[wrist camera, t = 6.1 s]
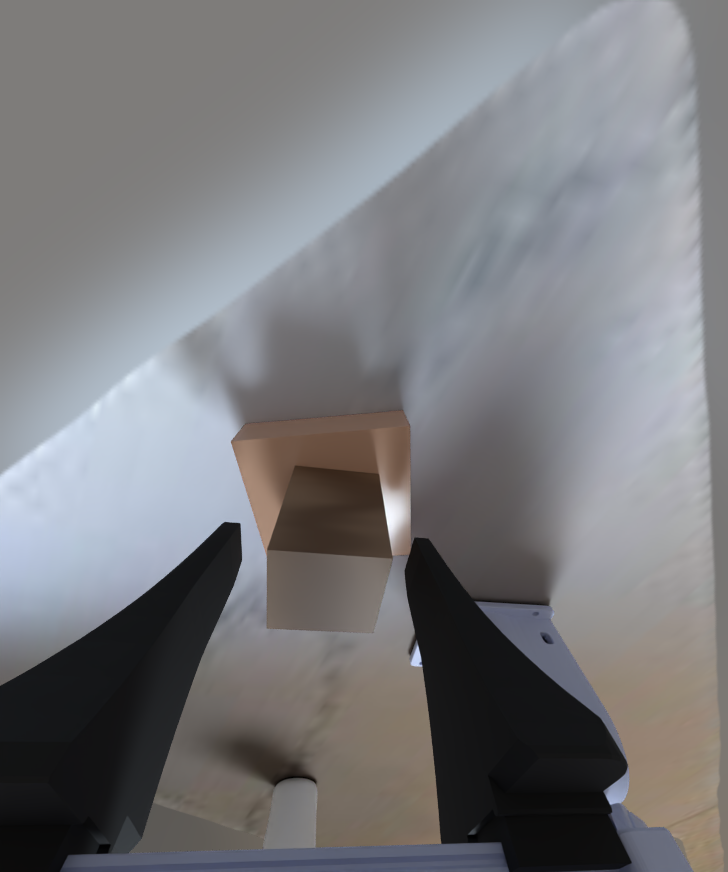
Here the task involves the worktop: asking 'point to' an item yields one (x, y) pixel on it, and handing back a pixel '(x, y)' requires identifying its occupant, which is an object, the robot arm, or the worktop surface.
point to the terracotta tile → (328, 463)
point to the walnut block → (328, 553)
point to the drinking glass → (292, 815)
